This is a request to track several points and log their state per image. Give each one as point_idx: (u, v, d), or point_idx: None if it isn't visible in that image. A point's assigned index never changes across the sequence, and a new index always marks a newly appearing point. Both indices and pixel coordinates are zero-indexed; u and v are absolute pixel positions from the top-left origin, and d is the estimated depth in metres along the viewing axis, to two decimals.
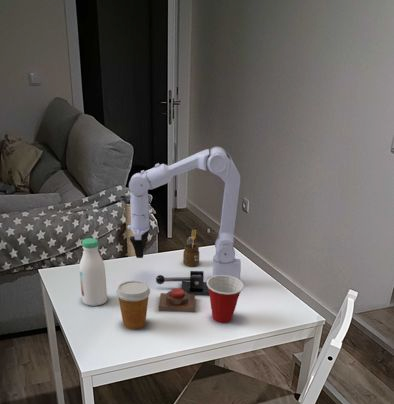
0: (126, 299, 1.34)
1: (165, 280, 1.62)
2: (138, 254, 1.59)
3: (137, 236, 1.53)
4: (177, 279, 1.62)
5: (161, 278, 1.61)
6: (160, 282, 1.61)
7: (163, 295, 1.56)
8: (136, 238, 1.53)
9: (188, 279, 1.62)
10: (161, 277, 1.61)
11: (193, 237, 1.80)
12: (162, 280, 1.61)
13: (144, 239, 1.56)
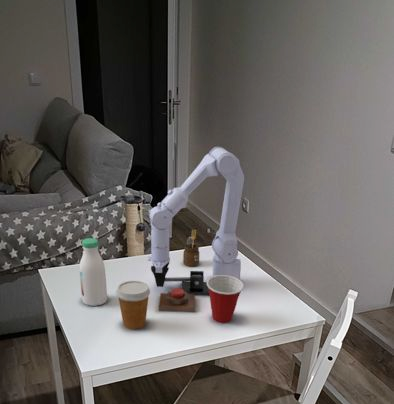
0: (126, 299, 1.34)
1: (165, 280, 1.62)
2: (159, 283, 1.61)
3: (158, 269, 1.52)
4: (177, 279, 1.62)
5: None
6: None
7: (163, 295, 1.56)
8: (157, 271, 1.53)
9: (188, 279, 1.62)
10: None
11: (193, 237, 1.80)
12: None
13: (165, 269, 1.57)
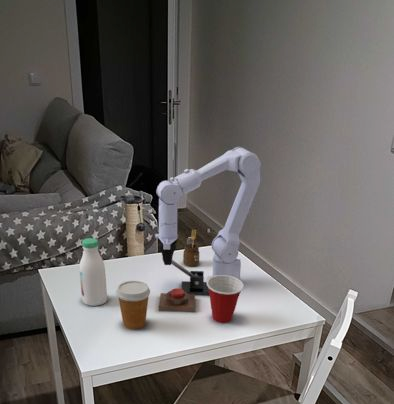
0: (126, 299, 1.34)
1: None
2: (166, 261, 1.57)
3: (166, 245, 1.49)
4: (181, 268, 1.60)
5: None
6: None
7: (163, 295, 1.56)
8: (165, 248, 1.49)
9: (190, 274, 1.61)
10: None
11: (193, 237, 1.80)
12: None
13: (173, 246, 1.53)
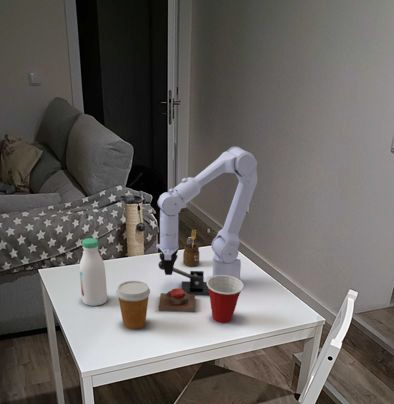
0: (126, 299, 1.34)
1: None
2: (167, 271, 1.58)
3: (167, 256, 1.50)
4: (179, 272, 1.60)
5: None
6: (162, 268, 1.59)
7: (163, 295, 1.56)
8: (166, 258, 1.51)
9: (189, 276, 1.61)
10: None
11: (193, 237, 1.80)
12: None
13: (174, 256, 1.54)
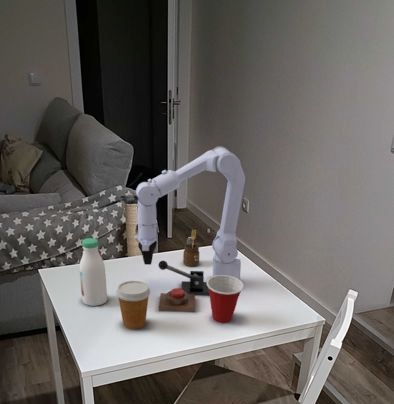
0: (126, 299, 1.34)
1: (167, 268, 1.59)
2: (146, 261, 1.58)
3: (145, 247, 1.49)
4: (179, 272, 1.60)
5: (165, 264, 1.58)
6: (162, 268, 1.59)
7: (163, 295, 1.56)
8: (144, 249, 1.49)
9: (189, 276, 1.61)
10: (165, 263, 1.58)
11: (193, 237, 1.80)
12: (165, 267, 1.59)
13: (153, 246, 1.54)
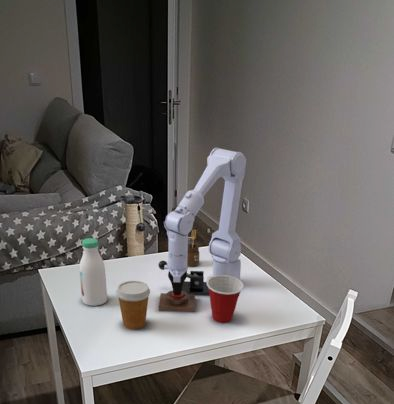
0: (125, 299, 1.34)
1: None
2: (176, 291, 1.51)
3: (176, 278, 1.42)
4: None
5: (165, 264, 1.58)
6: (162, 268, 1.59)
7: (163, 295, 1.56)
8: (175, 280, 1.42)
9: (189, 276, 1.61)
10: (165, 263, 1.58)
11: (193, 237, 1.80)
12: None
13: (183, 276, 1.47)
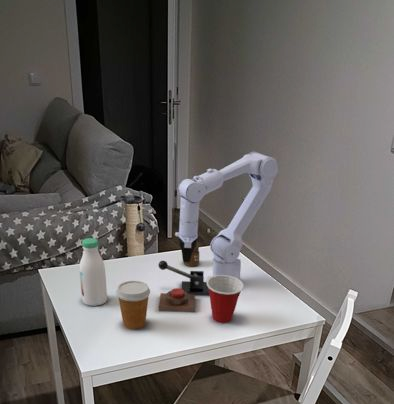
0: (126, 299, 1.34)
1: (167, 268, 1.59)
2: (185, 258, 1.57)
3: (187, 244, 1.48)
4: (179, 272, 1.60)
5: (165, 264, 1.58)
6: (162, 268, 1.59)
7: (163, 295, 1.56)
8: (186, 246, 1.48)
9: (189, 276, 1.61)
10: (165, 263, 1.58)
11: None
12: (165, 267, 1.59)
13: (193, 243, 1.53)
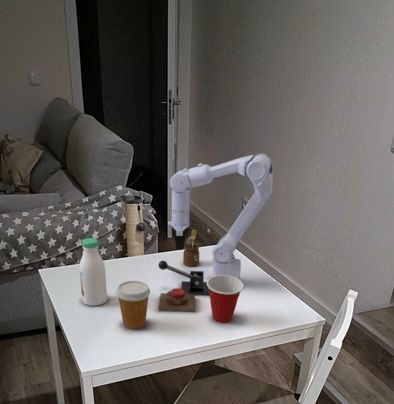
0: (126, 299, 1.34)
1: (167, 268, 1.59)
2: (178, 246, 1.66)
3: (179, 232, 1.57)
4: (179, 272, 1.60)
5: (165, 264, 1.58)
6: (162, 268, 1.59)
7: (163, 295, 1.56)
8: (178, 234, 1.57)
9: (189, 276, 1.61)
10: (165, 263, 1.58)
11: (193, 237, 1.80)
12: (165, 267, 1.59)
13: (185, 231, 1.62)
